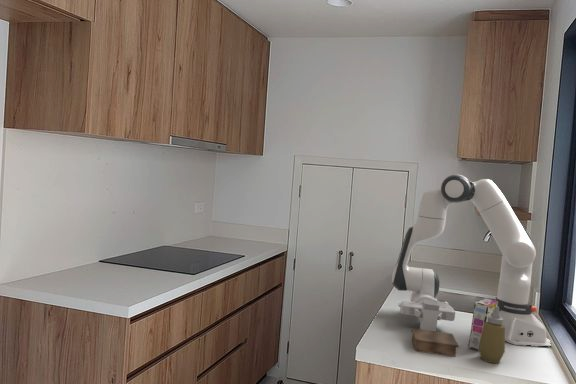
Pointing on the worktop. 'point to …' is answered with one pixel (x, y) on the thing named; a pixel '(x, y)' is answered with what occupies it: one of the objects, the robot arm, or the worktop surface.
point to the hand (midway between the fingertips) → (429, 316)
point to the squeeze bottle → (493, 338)
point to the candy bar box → (480, 320)
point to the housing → (429, 315)
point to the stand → (434, 342)
